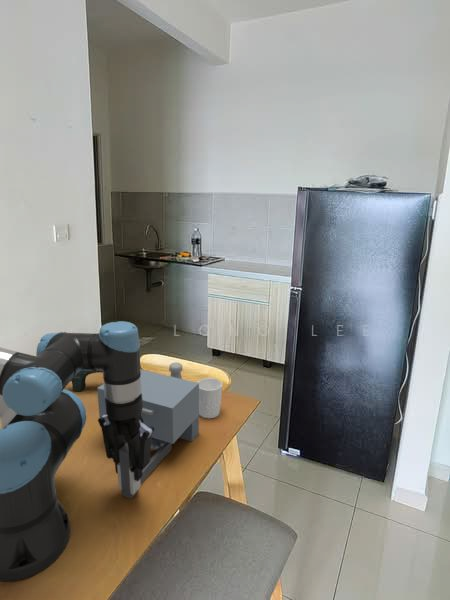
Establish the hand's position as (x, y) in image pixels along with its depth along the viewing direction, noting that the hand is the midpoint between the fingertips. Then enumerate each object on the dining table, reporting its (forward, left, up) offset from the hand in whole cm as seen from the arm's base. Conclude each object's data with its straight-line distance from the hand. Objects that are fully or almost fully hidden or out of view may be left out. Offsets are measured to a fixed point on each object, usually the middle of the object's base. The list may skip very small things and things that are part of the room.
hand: (129, 487), depth 85 cm
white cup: (+37, -2, -2) cm, 37 cm away
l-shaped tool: (+8, 0, -1) cm, 8 cm away
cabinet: (+19, +8, -2) cm, 21 cm away
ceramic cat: (+34, +39, -2) cm, 52 cm away
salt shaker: (+39, +11, -2) cm, 41 cm away
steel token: (+17, +5, -2) cm, 18 cm away
